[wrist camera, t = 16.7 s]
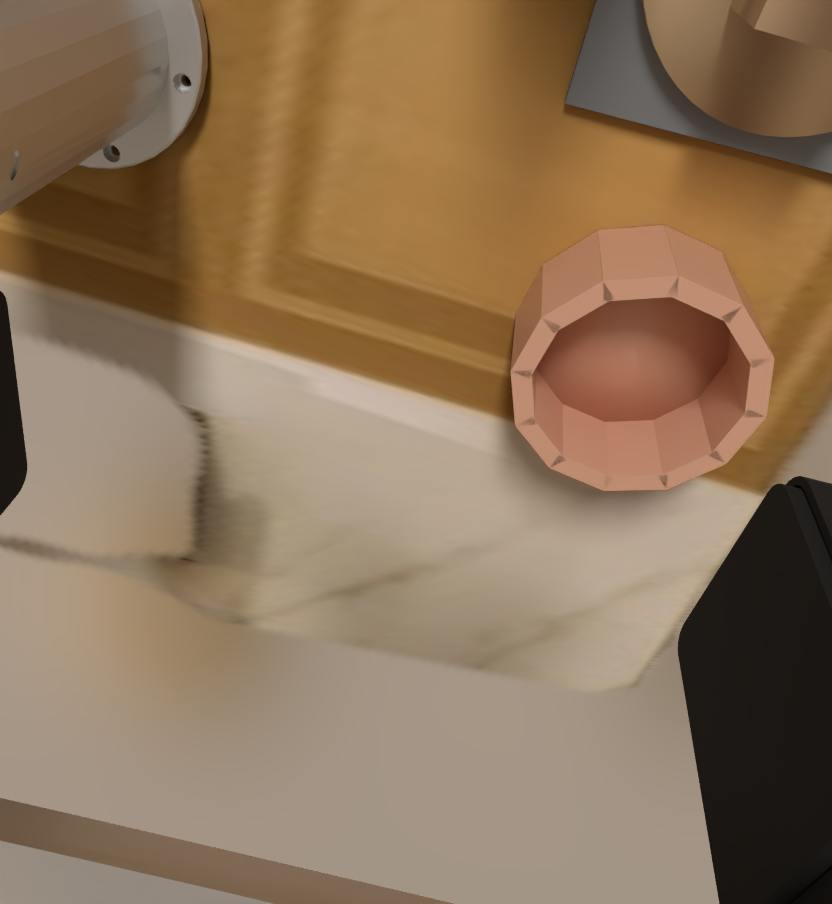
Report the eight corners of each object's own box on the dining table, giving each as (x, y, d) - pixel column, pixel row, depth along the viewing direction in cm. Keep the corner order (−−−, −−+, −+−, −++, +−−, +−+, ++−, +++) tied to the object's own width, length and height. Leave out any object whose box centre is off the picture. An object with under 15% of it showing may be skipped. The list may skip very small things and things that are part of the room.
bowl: (589, 456, 48) (593, 522, 44) (474, 307, 44) (464, 363, 39) (785, 362, 43) (813, 425, 38) (678, 179, 38) (696, 225, 33)
